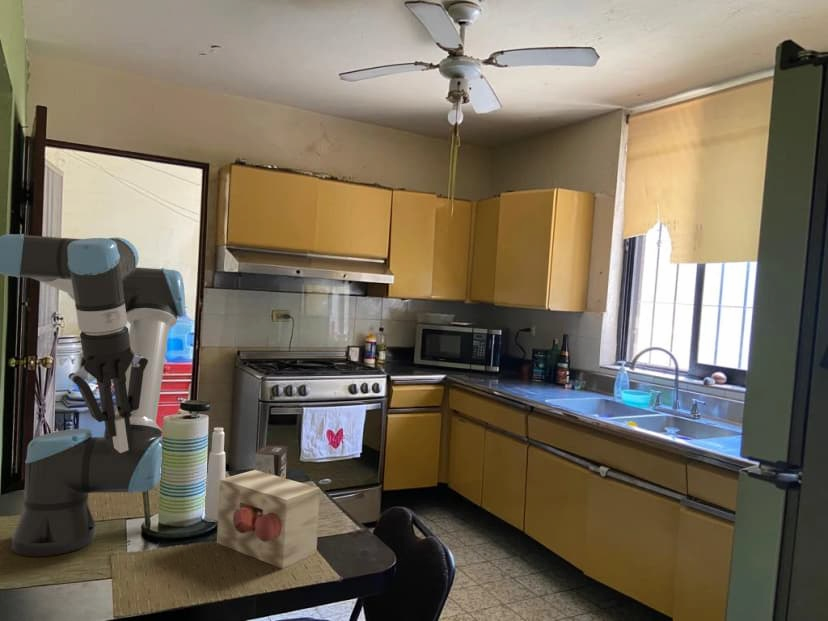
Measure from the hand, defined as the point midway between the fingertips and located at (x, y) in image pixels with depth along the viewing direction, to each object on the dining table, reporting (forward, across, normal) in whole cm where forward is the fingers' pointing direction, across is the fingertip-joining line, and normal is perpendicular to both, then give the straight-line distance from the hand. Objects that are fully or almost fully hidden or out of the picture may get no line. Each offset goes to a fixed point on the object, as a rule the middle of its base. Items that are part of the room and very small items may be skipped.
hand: (121, 448), depth 109 cm
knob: (+24, +23, -10) cm, 35 cm away
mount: (+30, +22, -10) cm, 38 cm away
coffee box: (+36, +35, +6) cm, 50 cm away
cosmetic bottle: (+34, +23, +12) cm, 43 cm away
